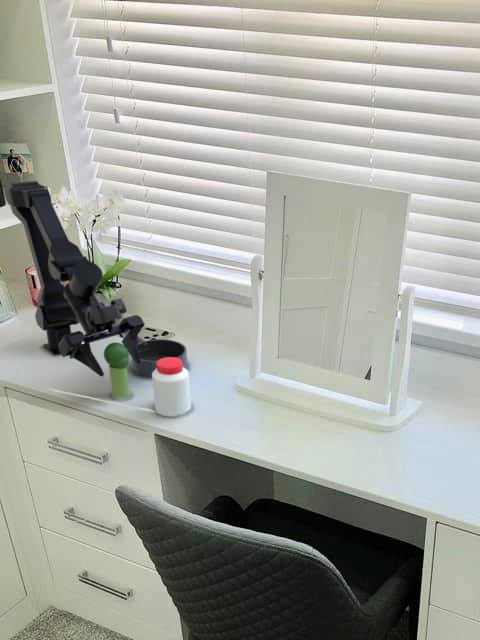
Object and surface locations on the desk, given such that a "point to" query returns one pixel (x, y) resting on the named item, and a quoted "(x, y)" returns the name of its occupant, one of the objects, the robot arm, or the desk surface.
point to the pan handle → (141, 341)
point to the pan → (157, 355)
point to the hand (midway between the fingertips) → (121, 369)
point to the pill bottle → (171, 387)
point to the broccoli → (118, 369)
